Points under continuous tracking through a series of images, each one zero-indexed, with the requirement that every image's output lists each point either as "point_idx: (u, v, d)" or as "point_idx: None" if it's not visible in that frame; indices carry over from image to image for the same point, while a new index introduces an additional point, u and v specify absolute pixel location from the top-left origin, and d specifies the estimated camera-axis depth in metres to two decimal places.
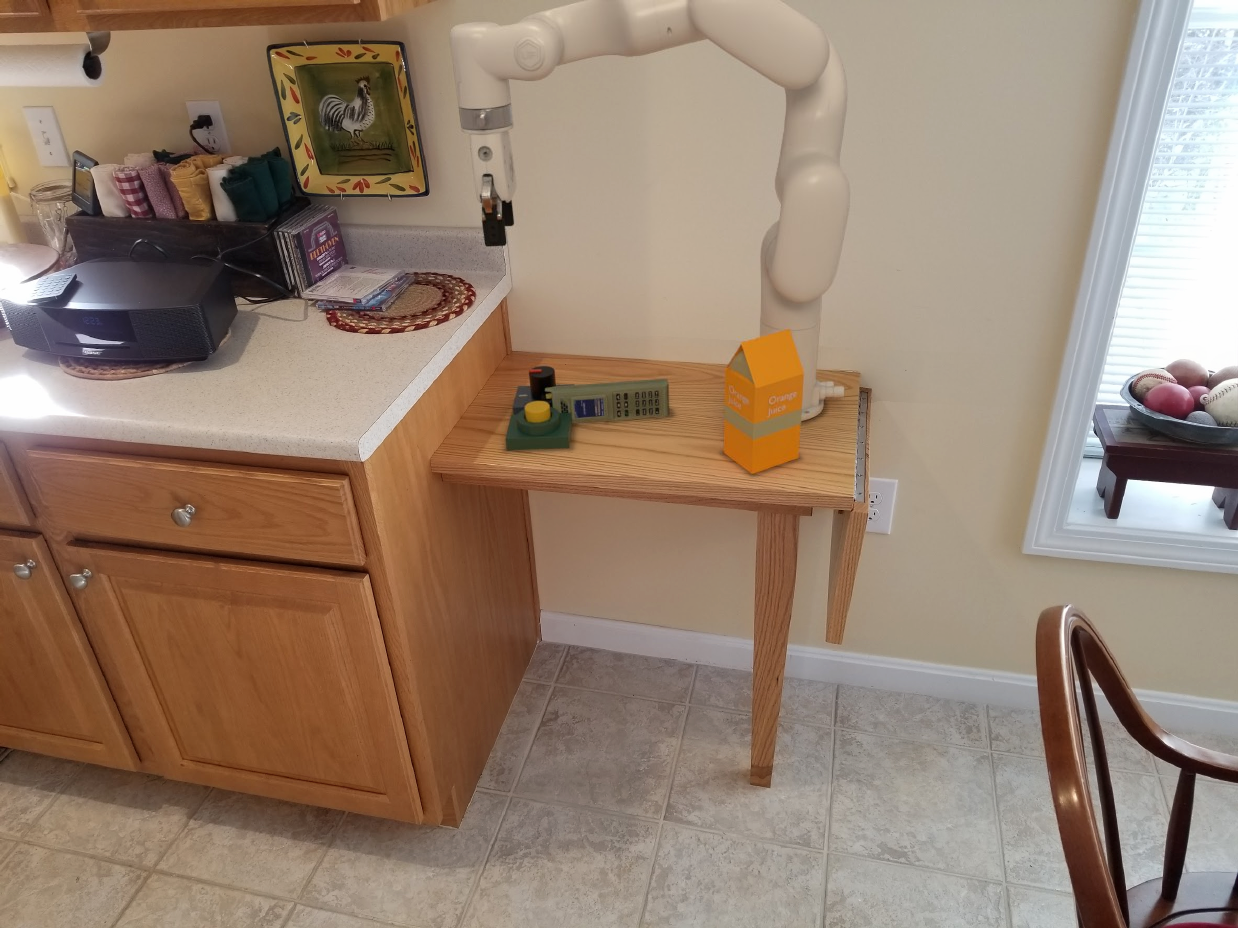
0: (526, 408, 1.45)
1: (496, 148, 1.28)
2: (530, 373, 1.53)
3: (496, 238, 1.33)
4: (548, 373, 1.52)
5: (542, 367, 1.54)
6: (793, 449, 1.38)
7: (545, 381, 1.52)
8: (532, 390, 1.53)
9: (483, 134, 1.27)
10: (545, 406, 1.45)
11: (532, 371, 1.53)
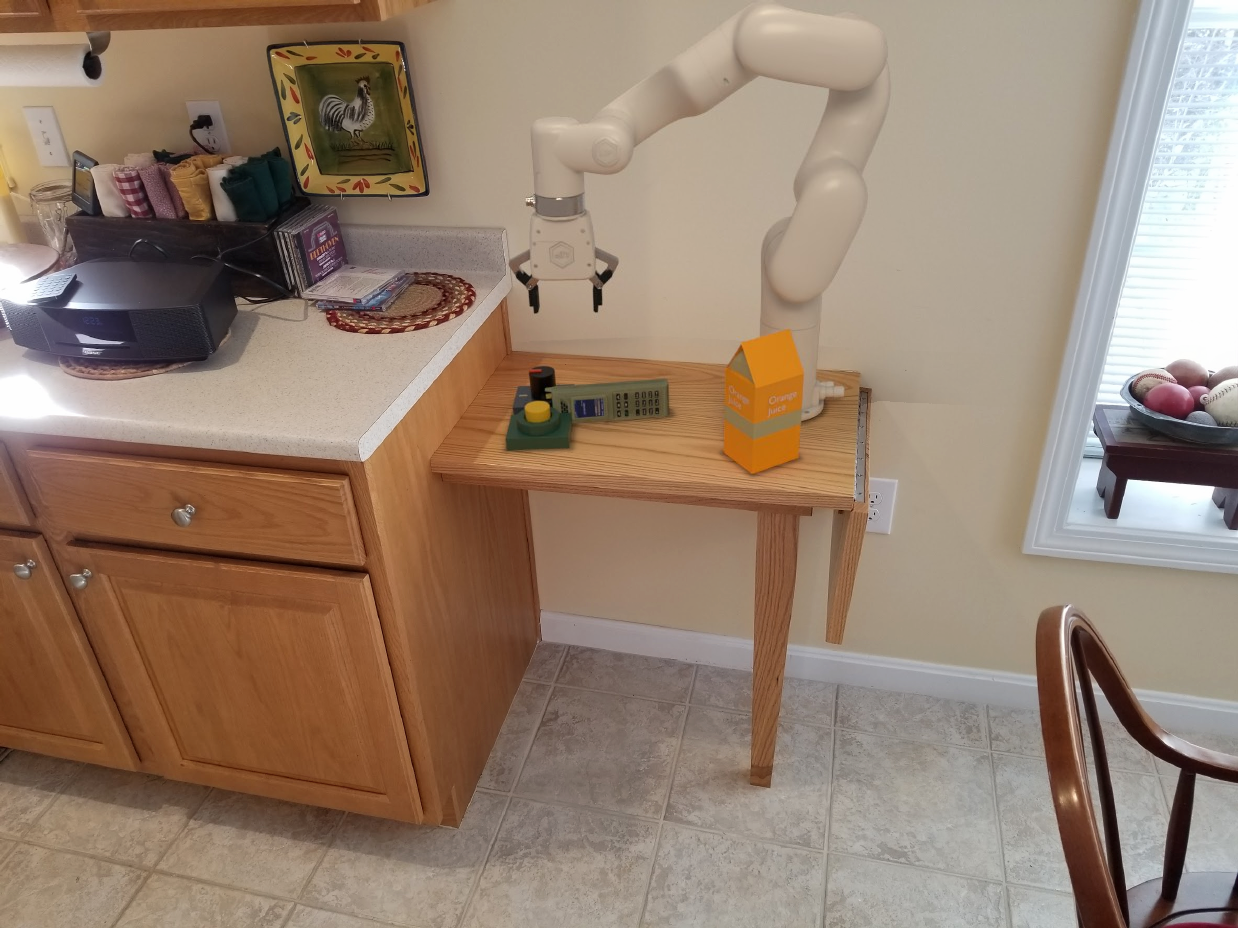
0: (526, 408, 1.45)
1: (530, 229, 1.38)
2: (530, 373, 1.53)
3: None
4: (548, 373, 1.52)
5: (542, 367, 1.54)
6: (793, 449, 1.38)
7: (545, 381, 1.52)
8: (532, 390, 1.53)
9: (534, 213, 1.39)
10: (545, 406, 1.45)
11: (532, 371, 1.53)
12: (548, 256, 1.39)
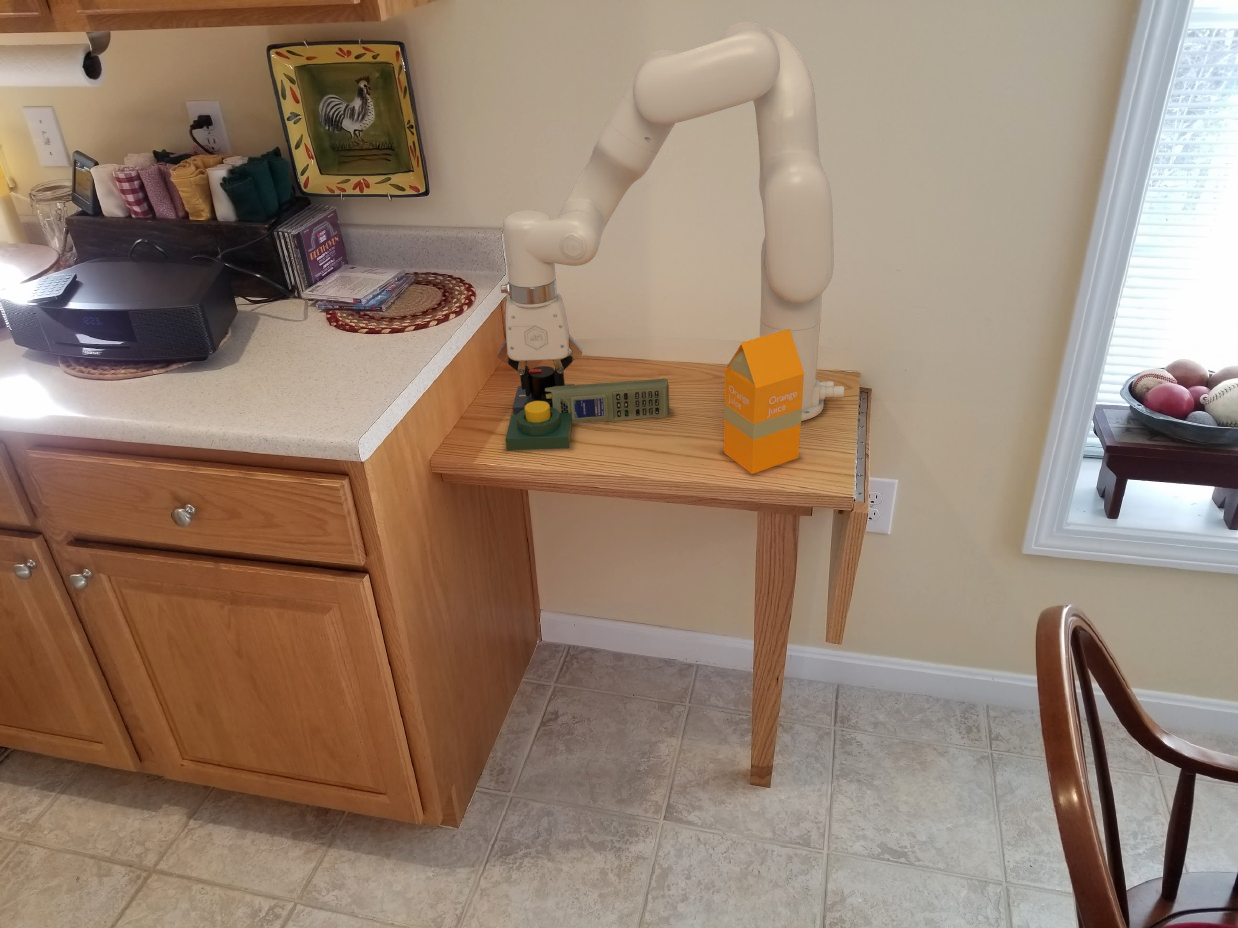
0: (526, 408, 1.45)
1: None
2: (530, 373, 1.53)
3: None
4: (548, 373, 1.52)
5: (542, 367, 1.54)
6: (793, 449, 1.38)
7: (545, 381, 1.52)
8: (532, 390, 1.53)
9: (509, 299, 1.47)
10: (545, 406, 1.45)
11: (532, 371, 1.53)
12: (523, 339, 1.47)
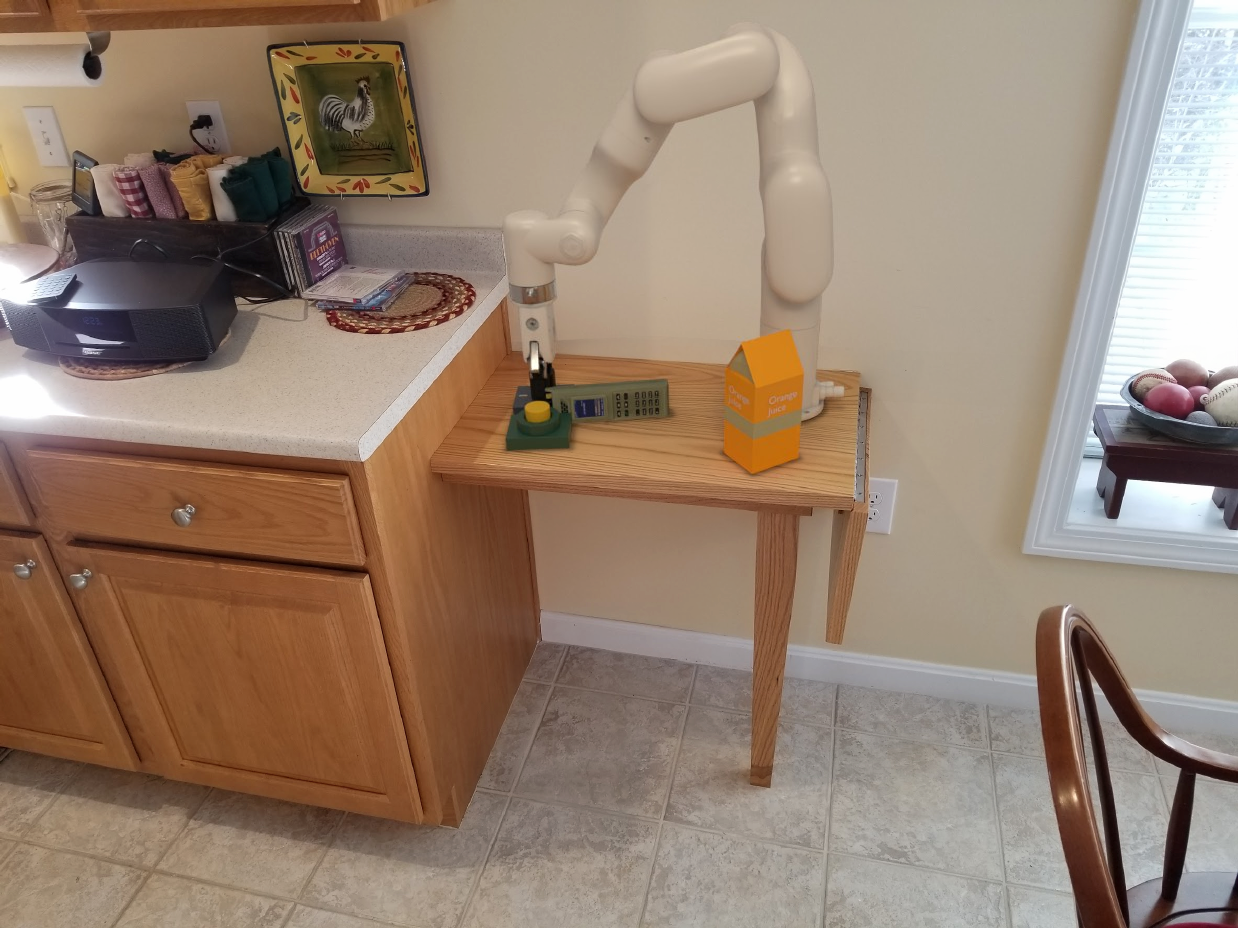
0: (526, 408, 1.45)
1: (542, 320, 1.43)
2: None
3: (542, 394, 1.51)
4: (547, 368, 1.54)
5: None
6: (793, 449, 1.38)
7: None
8: None
9: (531, 307, 1.43)
10: (545, 406, 1.45)
11: None
12: (552, 336, 1.47)
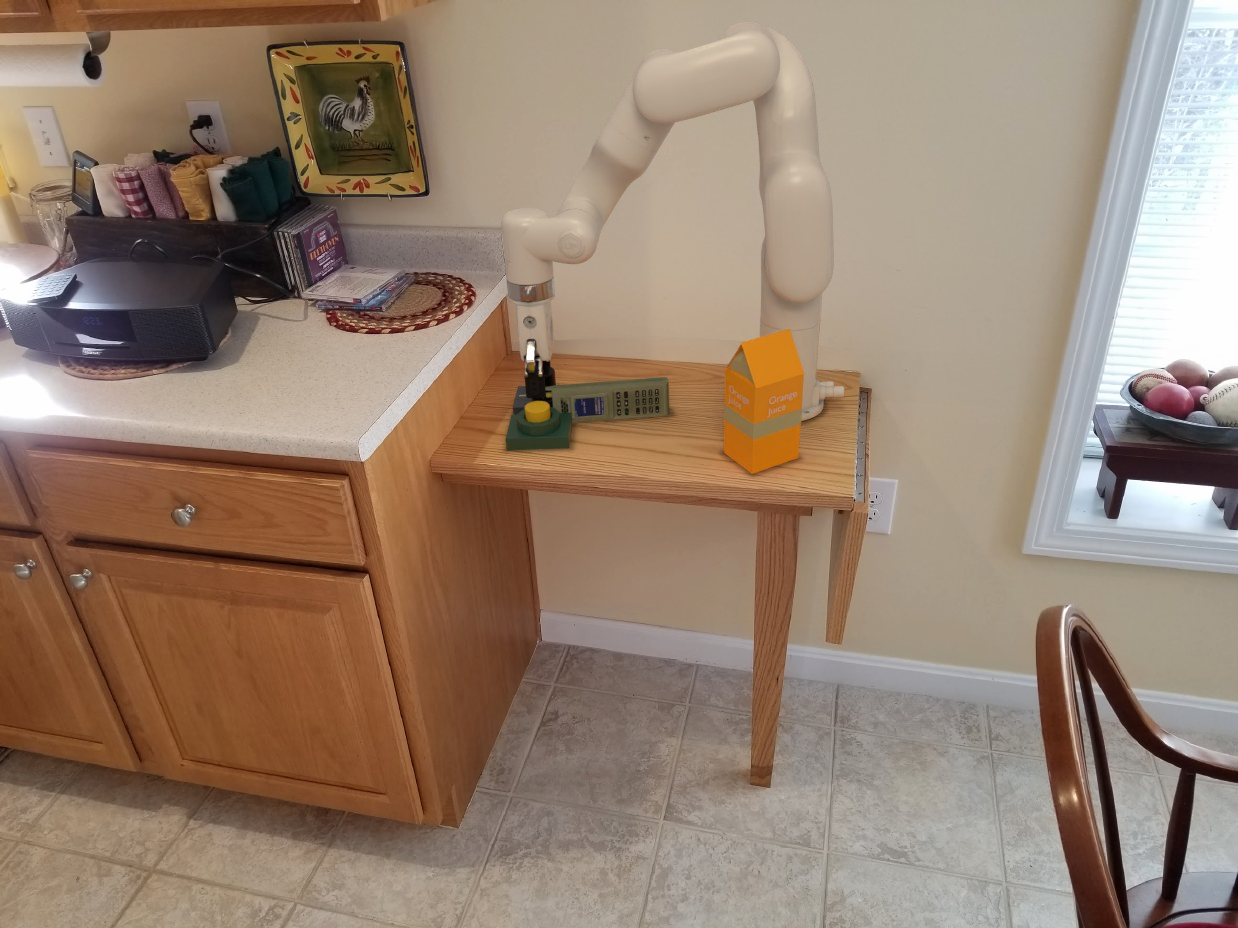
0: (526, 408, 1.45)
1: (539, 318, 1.43)
2: (544, 376, 1.52)
3: (537, 392, 1.49)
4: (547, 368, 1.54)
5: None
6: (793, 449, 1.38)
7: None
8: None
9: (528, 306, 1.43)
10: (545, 406, 1.45)
11: (542, 374, 1.52)
12: (550, 334, 1.47)
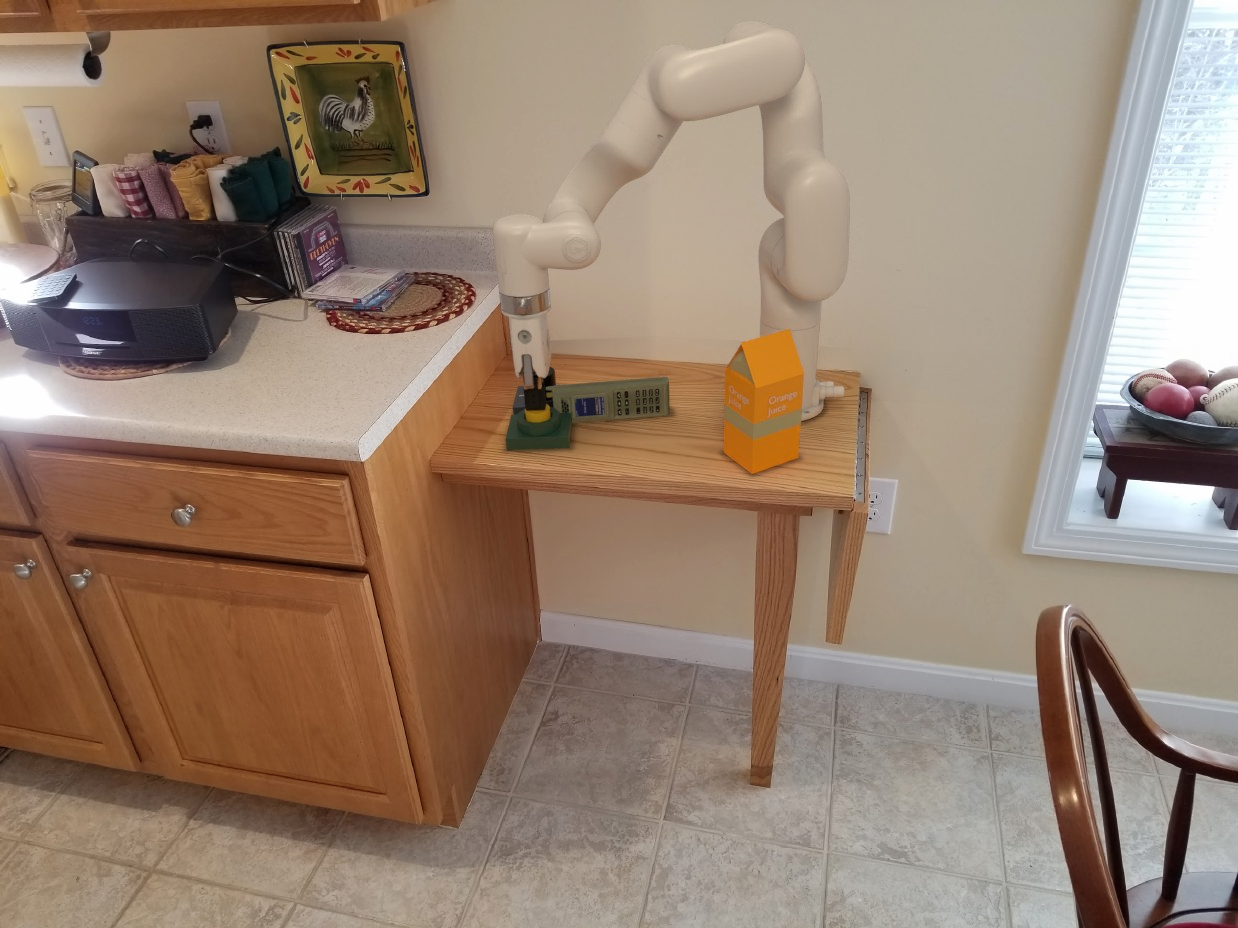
0: (526, 410, 1.45)
1: (535, 332, 1.34)
2: None
3: (536, 404, 1.43)
4: None
5: None
6: (793, 449, 1.38)
7: None
8: (550, 390, 1.53)
9: (523, 319, 1.33)
10: (545, 408, 1.45)
11: None
12: (546, 349, 1.38)
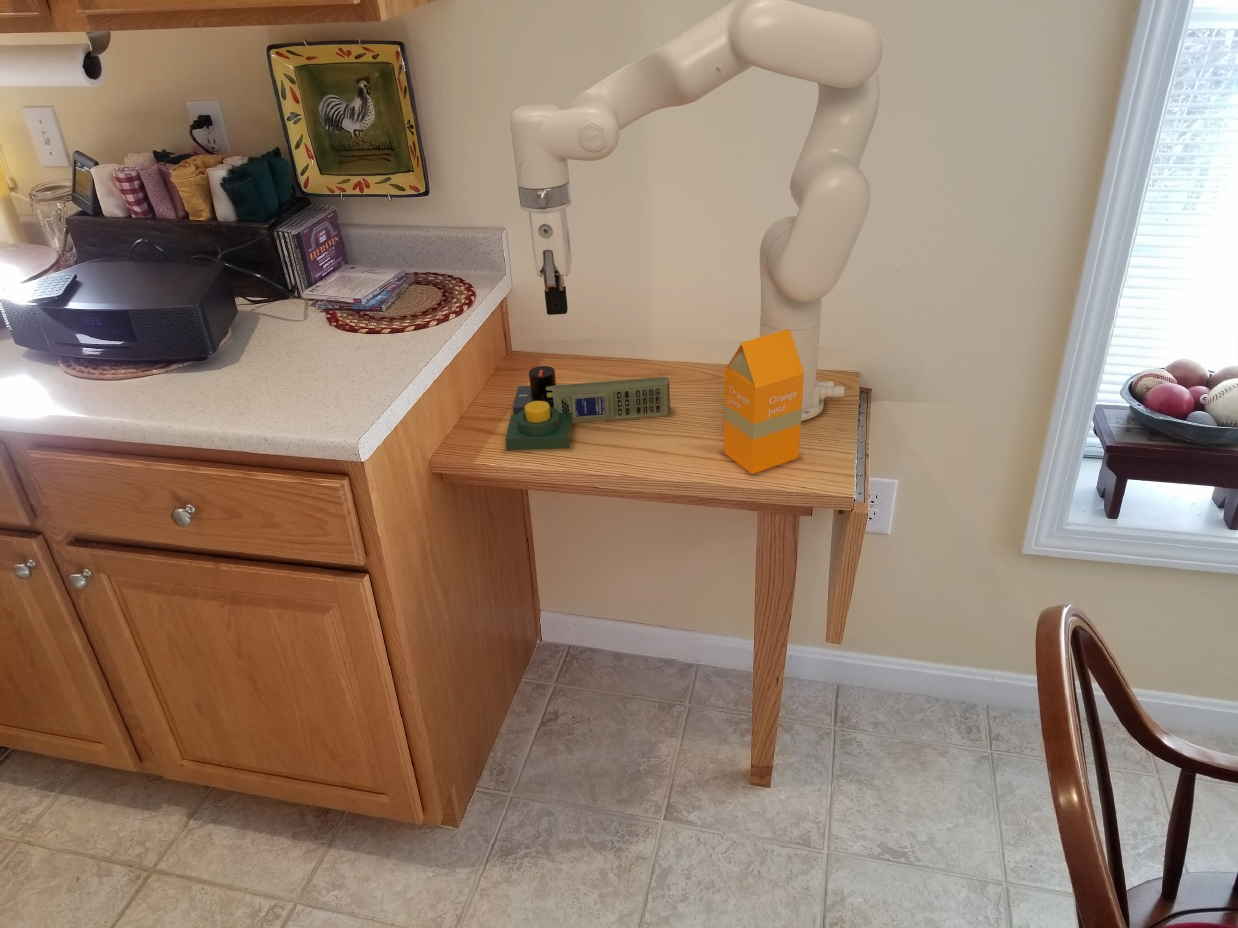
0: (526, 408, 1.45)
1: (556, 226, 1.31)
2: (544, 376, 1.52)
3: (558, 307, 1.41)
4: (547, 368, 1.54)
5: (532, 371, 1.53)
6: (793, 449, 1.38)
7: None
8: (550, 390, 1.53)
9: (543, 212, 1.30)
10: (545, 406, 1.45)
11: (542, 374, 1.52)
12: (567, 246, 1.35)
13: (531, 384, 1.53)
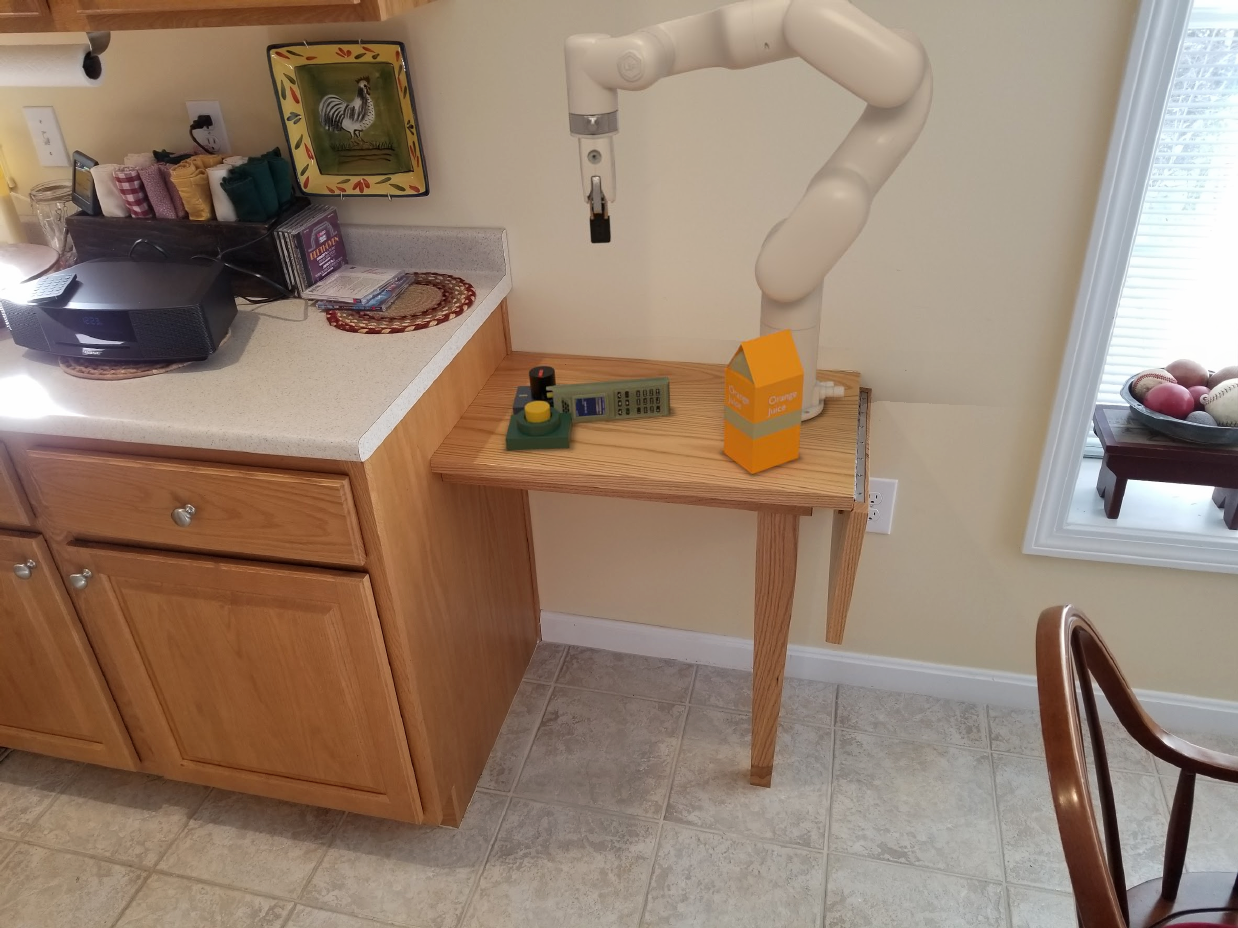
0: (526, 408, 1.45)
1: (605, 152, 1.35)
2: (544, 376, 1.52)
3: (602, 236, 1.45)
4: (547, 368, 1.54)
5: (532, 371, 1.53)
6: (793, 449, 1.38)
7: None
8: (550, 390, 1.53)
9: (593, 138, 1.35)
10: (545, 406, 1.45)
11: (542, 374, 1.52)
12: (614, 174, 1.40)
13: (531, 384, 1.53)
